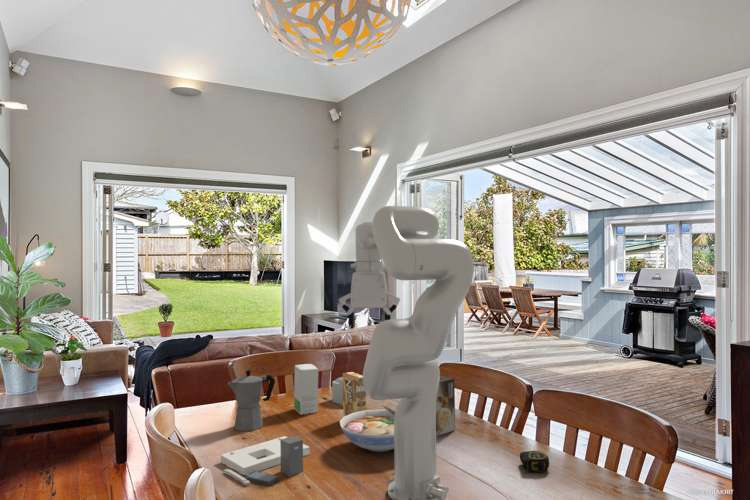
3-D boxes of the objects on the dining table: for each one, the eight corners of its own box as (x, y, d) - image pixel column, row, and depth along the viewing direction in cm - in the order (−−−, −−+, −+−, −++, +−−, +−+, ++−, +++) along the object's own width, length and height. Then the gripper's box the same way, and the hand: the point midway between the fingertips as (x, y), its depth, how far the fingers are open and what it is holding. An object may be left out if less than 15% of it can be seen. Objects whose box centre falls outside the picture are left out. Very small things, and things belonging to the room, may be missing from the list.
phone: (279, 479, 126) (279, 476, 126) (269, 485, 123) (269, 482, 123) (254, 474, 130) (254, 470, 130) (244, 480, 126) (244, 476, 126)
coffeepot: (232, 435, 158) (231, 375, 158) (223, 426, 166) (223, 370, 166) (280, 426, 166) (279, 369, 166) (270, 418, 174) (269, 364, 174)
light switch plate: (309, 454, 142) (309, 446, 142) (244, 476, 129) (244, 467, 129) (284, 442, 151) (284, 435, 151) (220, 462, 137) (220, 454, 137)
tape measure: (519, 463, 135) (519, 448, 135) (547, 464, 134) (546, 450, 134) (522, 474, 129) (522, 459, 129) (551, 475, 127) (551, 460, 127)
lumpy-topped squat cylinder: (346, 395, 202) (346, 373, 202) (373, 400, 194) (373, 377, 194) (328, 401, 194) (328, 378, 194) (355, 407, 186) (355, 383, 186)
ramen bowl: (328, 438, 155) (328, 410, 155) (399, 428, 163) (399, 402, 163) (355, 470, 131) (355, 438, 131) (436, 457, 139) (436, 426, 139)
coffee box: (440, 425, 165) (440, 374, 165) (456, 430, 160) (455, 378, 160) (419, 431, 159) (419, 379, 160) (435, 437, 154) (434, 383, 155)
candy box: (367, 424, 167) (367, 376, 167) (356, 426, 165) (355, 378, 165) (353, 417, 175) (352, 371, 175) (342, 419, 172) (341, 373, 172)
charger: (303, 471, 131) (302, 439, 131) (289, 476, 128) (289, 443, 128) (293, 466, 134) (293, 435, 134) (280, 471, 131) (280, 439, 131)
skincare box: (293, 408, 184) (293, 364, 185) (311, 406, 187) (311, 363, 187) (300, 415, 177) (300, 369, 177) (319, 412, 180) (318, 367, 180)
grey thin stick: (250, 484, 124) (250, 481, 124) (245, 486, 123) (245, 482, 123) (228, 471, 131) (228, 467, 131) (223, 472, 131) (223, 469, 131)
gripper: (336, 268, 145) (337, 329, 144) (398, 267, 143) (399, 330, 143) (341, 267, 152) (341, 326, 152) (400, 267, 150) (401, 326, 150)
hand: (369, 328), depth 147 cm, fingers open, 9 cm apart
